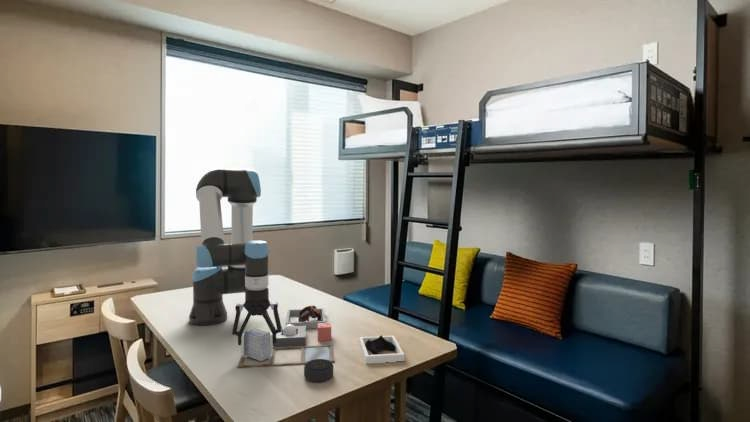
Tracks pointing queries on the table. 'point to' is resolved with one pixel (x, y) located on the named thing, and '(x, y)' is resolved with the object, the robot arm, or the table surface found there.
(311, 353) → the wooden window frame
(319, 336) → the die
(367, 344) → the gaming controller
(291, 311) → the mug coaster rim
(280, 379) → the table surface
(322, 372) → the smart speaker
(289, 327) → the dome
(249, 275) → the robot arm
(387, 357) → the controller tray rim
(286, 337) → the grey square holed block
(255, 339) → the medicine box
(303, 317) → the pottery mug
